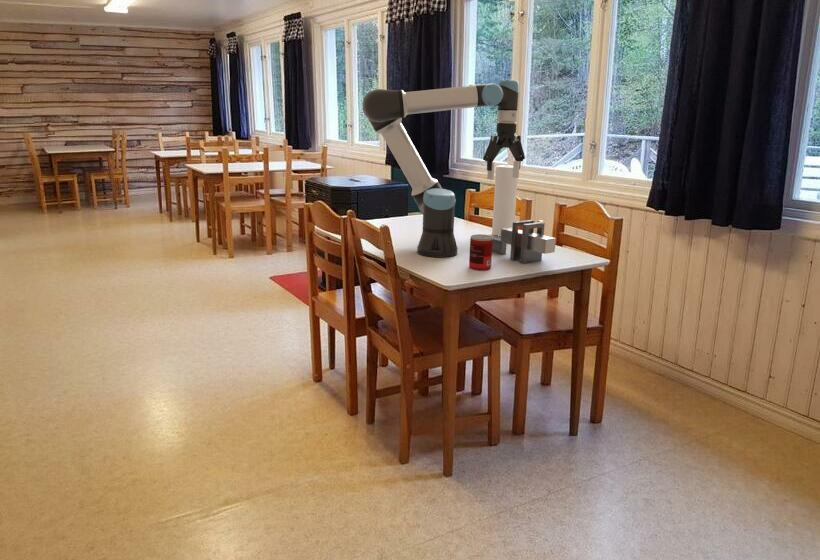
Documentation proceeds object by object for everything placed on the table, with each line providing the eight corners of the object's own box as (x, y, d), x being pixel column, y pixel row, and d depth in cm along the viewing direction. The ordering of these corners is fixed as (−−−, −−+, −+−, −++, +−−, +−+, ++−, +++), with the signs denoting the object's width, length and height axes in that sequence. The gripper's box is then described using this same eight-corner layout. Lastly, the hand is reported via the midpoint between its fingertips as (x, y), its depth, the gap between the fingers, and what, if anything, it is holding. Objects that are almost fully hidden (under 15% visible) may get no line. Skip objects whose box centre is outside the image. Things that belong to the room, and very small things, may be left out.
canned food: (489, 265, 217) (491, 234, 214) (492, 271, 210) (494, 239, 207) (467, 264, 217) (469, 234, 214) (470, 270, 209) (472, 238, 206)
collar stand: (523, 263, 220) (526, 225, 216) (510, 260, 225) (512, 222, 222) (545, 259, 227) (549, 222, 223) (532, 256, 232) (535, 219, 228)
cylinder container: (515, 237, 266) (520, 166, 258) (493, 236, 266) (497, 165, 258) (512, 232, 275) (516, 164, 267) (490, 232, 275) (495, 163, 267)
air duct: (500, 242, 231) (501, 228, 230) (510, 240, 234) (511, 227, 233) (544, 253, 214) (545, 239, 213) (554, 252, 217) (556, 238, 216)
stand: (501, 254, 234) (502, 241, 232) (481, 248, 242) (482, 236, 241) (505, 253, 235) (506, 240, 234) (486, 248, 244) (486, 235, 242)
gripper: (489, 122, 226) (486, 181, 232) (536, 123, 240) (532, 178, 246) (475, 121, 232) (472, 179, 237) (522, 122, 246) (518, 176, 252)
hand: (503, 178), depth 242 cm, fingers open, 13 cm apart
